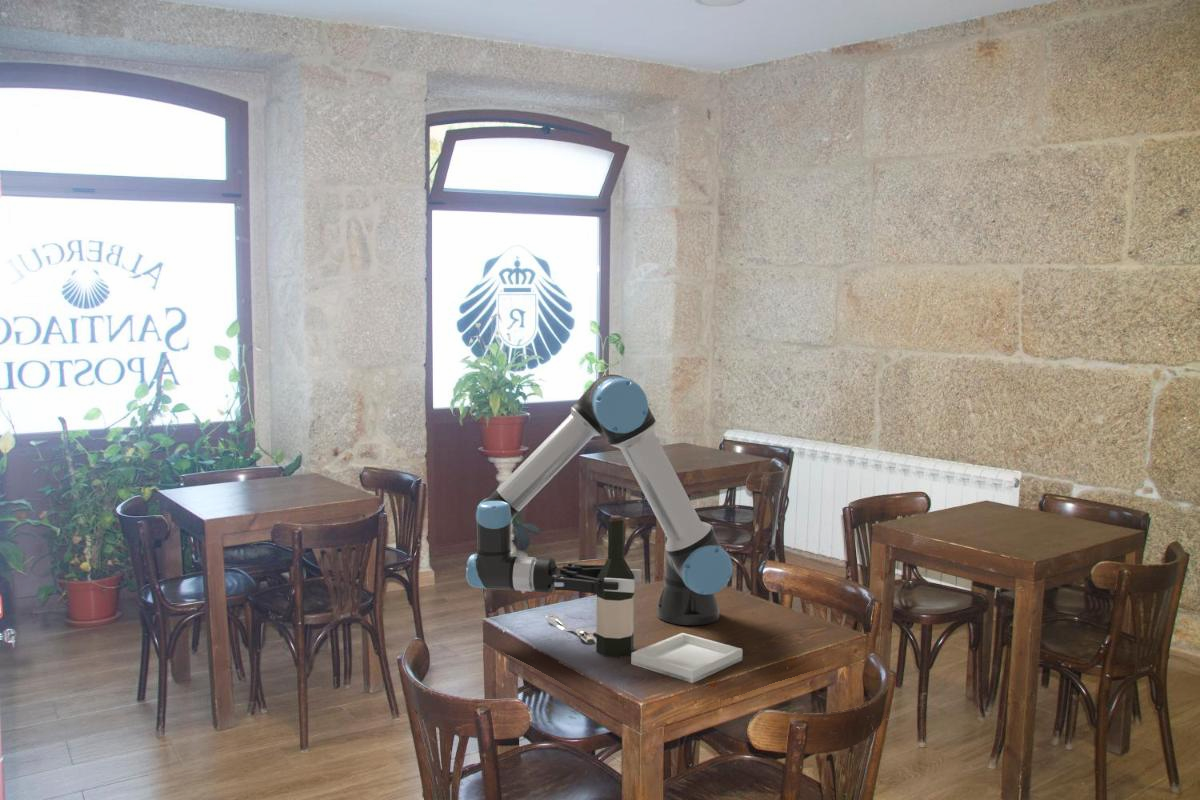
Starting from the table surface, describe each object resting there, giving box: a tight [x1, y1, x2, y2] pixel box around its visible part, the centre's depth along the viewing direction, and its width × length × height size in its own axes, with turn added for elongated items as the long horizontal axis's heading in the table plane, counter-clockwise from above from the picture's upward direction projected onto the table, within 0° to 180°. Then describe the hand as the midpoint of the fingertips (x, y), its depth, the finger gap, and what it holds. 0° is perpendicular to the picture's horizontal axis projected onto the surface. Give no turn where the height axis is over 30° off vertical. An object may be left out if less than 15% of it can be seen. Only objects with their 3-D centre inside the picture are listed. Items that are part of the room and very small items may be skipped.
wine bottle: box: [595, 514, 635, 658], centre depth 222 cm, size 8×8×30 cm
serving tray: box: [630, 632, 743, 684], centre depth 216 cm, size 18×16×2 cm
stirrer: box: [545, 613, 597, 645], centre depth 236 cm, size 20×4×5 cm
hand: (637, 580), depth 221 cm, fingers closed on wine bottle, 8 cm apart
